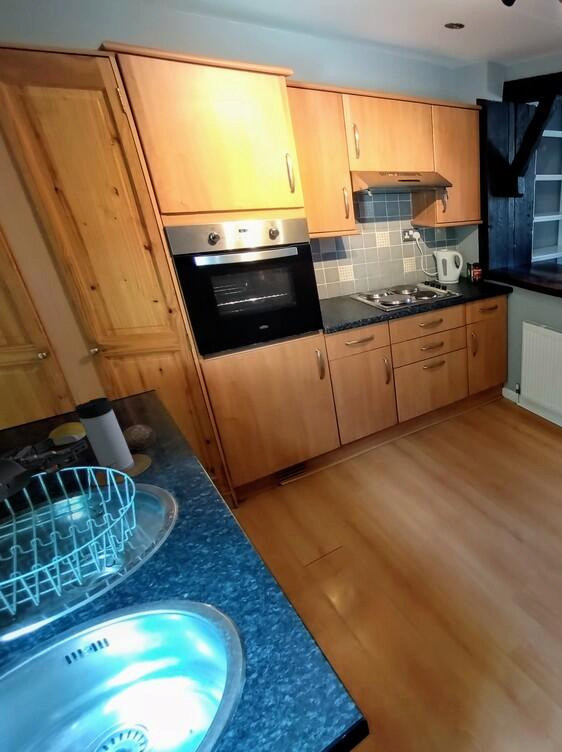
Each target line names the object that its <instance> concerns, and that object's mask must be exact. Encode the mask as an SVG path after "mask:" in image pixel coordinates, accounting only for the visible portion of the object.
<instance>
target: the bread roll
mask: <svg viewBox="0 0 562 752" xmlns="http://www.w3.org/2000/svg"><path fill="white" fill-rule="evenodd" d="M85 436H86V433H85V430H84V428H83V426H82V424H81V422H77V421H76V422H75V421H74V422H66V423H63V424H60V425H58V426H57V427H55V428H54V429H53V430H52V431H50V433H49V436H48V438H52V439H53V441H54V443H55V445H54V446H63V445H64V446H65V445H69V444H74V443H76V442H78V441H80V440H82V439H83V438H84V437H85Z"/></svg>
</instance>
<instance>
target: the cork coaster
mask: <svg viewBox="0 0 562 752" xmlns="http://www.w3.org/2000/svg"><path fill="white" fill-rule="evenodd" d="M131 456H132V459H133V461H134V466H133V467H132V468H131V469H130V470H128V471H126V472H125V473H126V474H127V475H129V476H131V477H133V478H134V477H136V476H138V475H140V474H142V473H143V472H145V471H146V470H147V469H149V467H150V465H151V464H152V458H151V457H150V456H149V455H147V454H139V453H138V454H137V453H136V454H131ZM95 477H96V479H97V481H98V483H99V486H98V487H103V486H104V487H105V486H108V485H107V478H106V475H105V474H104V473H103V472H102V471H98V472H97V473H96V476H95ZM115 478H116V482H117V483H116V484H120V483H122V482H125V481H124V478H123V477H122V476H120V475H116V476H115ZM86 482H87V483H88V475H87V476H86ZM91 486H94V487H97V486H96V485H95V483H92V485H91Z"/></svg>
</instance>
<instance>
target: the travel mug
mask: <svg viewBox="0 0 562 752" xmlns="http://www.w3.org/2000/svg"><path fill="white" fill-rule="evenodd" d="M74 409H75V411H76V414H77V415H78V419H79V421H80V423H81V424H82V426H83V428H84V430H85V433H86V434H85V436H86V437H87V440H88V441H89V443H90V446H91V449H92V451H93V453H94V455H95V457H96V460H97V462H98V465H99V466H101V467H108V468H113V469H116V470H120V471H122V472H126V471H128V470H130V469H131V468H132V467H133V466H134V461H133V459H132V456H131V455H132V453H131V451H130V449H129V448H128V446H127V444H126V441H125V439H124V436H123V434H122V433H123V432H122V429H121V427H120V425H119V422H118V419H117V417H116V415H115V412H114V409H113V407H112V406H111V403H110V400H109V398H108V397H97V398H93V399H90V400H89V401H86V402H83V403H79V404H77V405H75V407H74ZM103 473H104V474H105V475H106V472H104V471H103ZM117 475H118V474H117Z"/></svg>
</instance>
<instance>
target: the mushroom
mask: <svg viewBox="0 0 562 752" xmlns="http://www.w3.org/2000/svg"><path fill="white" fill-rule="evenodd" d="M122 434H123V436H124V439H125V441H126V444H127V446H128V449H129V450H132V451H141V450H145V449H147V448H150V447H151V446H152V445H154V443H155V442H156V441H157V436H158V435H157V432H156V431H155V430H154V429H153V428H152V427H151V426H149V425H147V424H135V425H132V426H129V427H127V428H126V429H125V430H124V431H123V432H122Z"/></svg>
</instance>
